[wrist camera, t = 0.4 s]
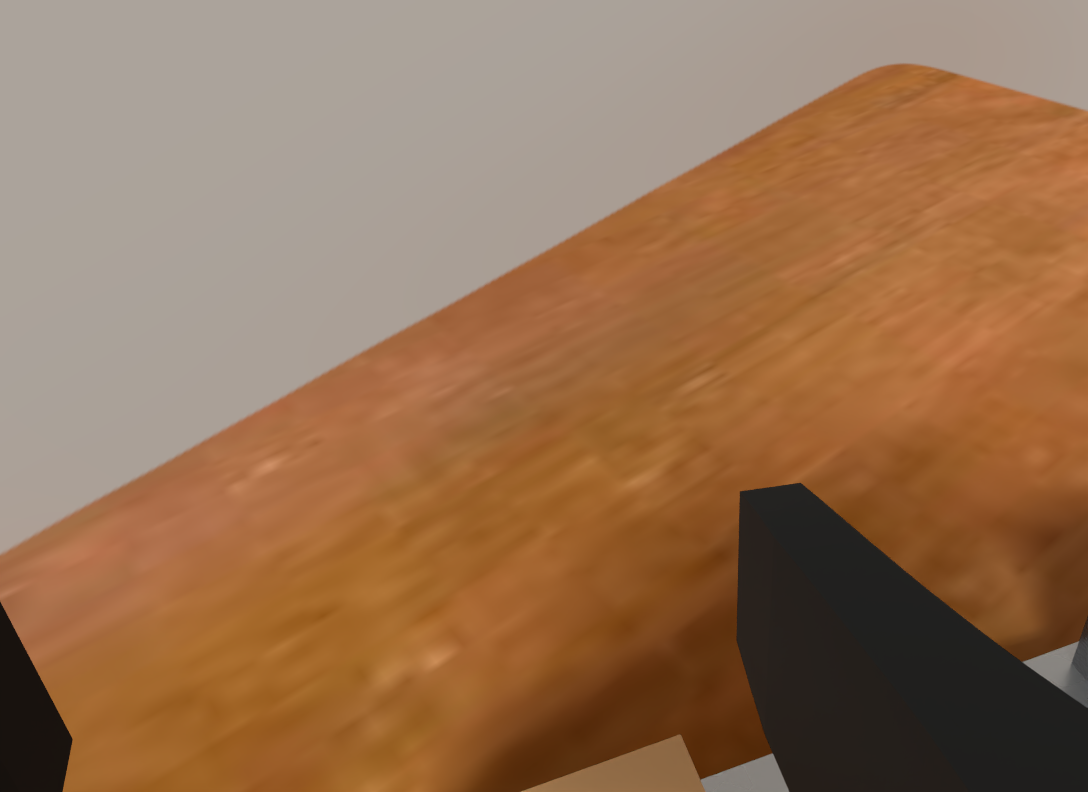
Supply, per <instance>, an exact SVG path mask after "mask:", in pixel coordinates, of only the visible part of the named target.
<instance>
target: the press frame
mask: <svg viewBox="0 0 1088 792" xmlns="http://www.w3.org/2000/svg"><path fill="white" fill-rule="evenodd" d="M1023 663H1024V664H1026V665H1027V666H1028V667H1030V668H1031V669H1033V670H1034V671H1035V672H1037V673H1038V674H1040V675H1041V676H1043V677H1044V678H1045V679H1047V680H1048V681H1050V682H1051V683H1052V684H1054V685H1055V686H1057V687H1058V688H1059V689H1061V690H1062V691H1064V692H1065V693H1067V694H1068V695H1069V696H1071V697H1072V698H1074V699H1075V700H1077V701H1078V702H1079V703H1081V704H1082V705H1084V706H1085V707H1087V708H1088V617H1087V620H1086V623H1085V626H1084V629H1083V632H1082V634H1081V637H1080V640H1079V642H1076V643H1073V644H1070V645H1068V646H1065V647H1062V648H1059V649H1057V650H1054V651H1051V652H1048V653H1046V654H1043V655H1040V656H1038V657H1035V658H1032V659H1029V660H1027V661H1024V662H1023ZM701 783H702V785H703V787H704V789H705V792H789V790H788V788H787V785H786V783H785V781H784V778H783V776H782V774H781V771H780V769H779V767H778V764H777V762H776V760H775V757H774V755H773V753H772V754H769V755H767V756H764V757H761V758H759V759H756V760H753V761H750V762H748V763H745V764H742V765H739V766H737V767H734V768H731V769H728V770H726V771H723V772H720V773H717V774H715V775H712V776H709V777H707V778H704V779H701Z"/></svg>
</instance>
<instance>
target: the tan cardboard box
mask: <svg viewBox="0 0 1088 792" xmlns="http://www.w3.org/2000/svg"><path fill="white" fill-rule="evenodd" d="M521 792H705V789H704V787H703V785H702V783H701V780H700V778H699V776H698V773H697V771H696V769H695V766H694V764H693V762H692V759H691V757H690V755H689V753H688V750H687V748H686V746H685V743H684V741H683V739H682V736H681V734H680V735H677V736H674V737H671V738H669V739H666V740H663V741H660V742H657V743H655V744H652V745H649V746H646V747H643V748H641V749H638V750H635V751H632V752H630V753H627V754H624V755H621V756H618V757H616V758H613V759H610V760H607V761H605V762H602V763H599V764H596V765H593V766H591V767H588V768H585V769H582V770H580V771H577V772H574V773H571V774H568V775H566V776H563V777H560V778H557V779H555V780H552V781H549V782H546V783H543V784H541V785H538V786H535V787H532V788H530V789H527V790H524V791H521Z"/></svg>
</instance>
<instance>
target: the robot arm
mask: <svg viewBox="0 0 1088 792" xmlns="http://www.w3.org/2000/svg"><path fill="white" fill-rule="evenodd" d="M737 643H738V647H739V650H740V653H741V657H742V660H743V664H744V667H745V671H746V674H747V678H748V681H749V684H750V688H751V691H752V695H753V698H754V701H755V704H756V707H757V711H758V714H759V717H760V720H761V724H762V727H763V730H764V733H765V736H766V738H767V740H768V743H769V745H770V748H771V750H772V752H773V755H774V757H775V760H776V762H777V764H778V767H779V769H780V771H781V774H782V776H783V778H784V781H785V783H786V785H787V788H788V790H789V792H1088V708H1087V707H1085V706H1084V705H1082V704H1081V703H1079V702H1078V701H1077V700H1075V699H1074V698H1072V697H1071V696H1069V695H1068V694H1067V693H1065V692H1064V691H1062V690H1061V689H1059V688H1058V687H1057V686H1055V685H1054V684H1052V683H1051V682H1050V681H1048V680H1047V679H1045V678H1044V677H1043V676H1041V675H1040V674H1038V673H1037V672H1035V671H1034V670H1033V669H1031V668H1030V667H1028V666H1027V665H1026V664H1024V663H1023V662H1021V661H1020V660H1018V659H1017V658H1016V657H1014V656H1013V655H1012V654H1010V653H1009V652H1008V651H1006V650H1005V649H1004V648H1002V647H1001V646H1000V645H998V644H997V643H996V642H994V641H993V640H992V639H990V638H989V637H988V636H986V635H985V634H984V633H982V632H981V631H980V630H978V629H977V628H976V627H975V626H973V625H972V624H971V623H970V622H968V621H967V620H966V619H964V618H963V617H962V616H961V615H959V614H958V613H957V612H956V611H954V610H953V609H952V608H950V607H949V606H948V605H947V604H945V603H944V602H943V601H942V600H940V599H939V598H938V597H936V596H935V595H934V594H933V593H931V592H930V591H929V590H928V589H926V588H925V587H924V586H923V585H921V584H920V583H919V582H918V581H917V580H915V579H914V578H913V577H912V576H910V575H909V574H908V573H907V572H906V571H904V570H903V569H902V568H901V567H899V566H898V565H897V564H896V563H895V562H894V561H892V560H891V559H890V558H889V557H888V556H886V555H885V554H884V553H883V552H882V551H880V550H879V549H878V548H877V547H876V546H874V545H873V544H872V543H871V542H870V541H869V540H867V539H866V538H865V537H864V536H863V535H862V534H860V533H859V532H858V531H857V530H856V529H854V528H853V527H852V526H851V525H850V524H849V523H847V522H846V521H845V520H844V519H843V518H842V517H840V516H839V515H838V514H837V513H836V512H835V511H833V510H832V509H831V508H830V507H829V506H828V505H826V504H825V503H824V502H823V501H822V500H821V499H819V498H818V497H817V496H816V495H815V494H813V493H812V492H811V491H810V490H808V489H807V488H806V487H805V486H804V485H802V484H801V483H797V484H790V485H783V486H776V487H769V488H762V489H755V490H748V491H740V514H739V558H738V602H737ZM72 740H73V739H72V737H71V735H70V733H69V731H68V730H67V728H66V726H65V724H64V722H63V720H62V718H61V716H60V714H59V713H58V711H57V709H56V707H55V705H54V703H53V701H52V699H51V697H50V695H49V694H48V692H47V690H46V688H45V686H44V684H43V682H42V680H41V678H40V676H39V675H38V673H37V671H36V669H35V667H34V665H33V663H32V661H31V659H30V657H29V656H28V654H27V652H26V650H25V648H24V646H23V644H22V642H21V640H20V638H19V637H18V635H17V633H16V631H15V629H14V627H13V625H12V623H11V621H10V619H9V618H8V616H7V614H6V612H5V610H4V608H3V606H2V604H1V602H0V792H62V791H63V786H64V781H65V776H66V770H67V765H68V760H69V755H70V750H71V745H72Z"/></svg>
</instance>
